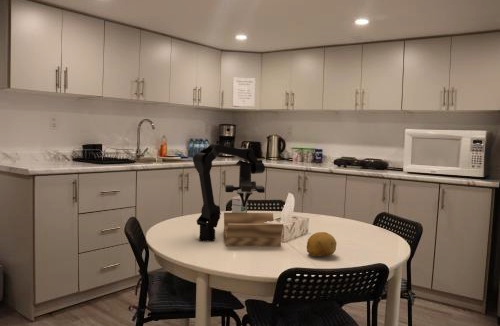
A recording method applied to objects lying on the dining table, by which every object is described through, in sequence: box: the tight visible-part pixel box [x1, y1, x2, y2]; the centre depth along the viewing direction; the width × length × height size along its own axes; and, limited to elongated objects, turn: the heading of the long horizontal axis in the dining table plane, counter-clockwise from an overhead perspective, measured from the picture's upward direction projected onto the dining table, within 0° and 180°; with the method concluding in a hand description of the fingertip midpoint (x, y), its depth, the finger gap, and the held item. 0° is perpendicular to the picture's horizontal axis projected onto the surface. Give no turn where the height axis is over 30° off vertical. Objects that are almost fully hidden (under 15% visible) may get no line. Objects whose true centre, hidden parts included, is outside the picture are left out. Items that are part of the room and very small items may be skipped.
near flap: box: [227, 223, 284, 239], centre depth 184 cm, size 8×24×1 cm
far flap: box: [223, 212, 275, 230], centre depth 204 cm, size 8×24×1 cm
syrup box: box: [231, 195, 248, 213], centre depth 226 cm, size 6×6×14 cm
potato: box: [306, 231, 338, 257], centre depth 176 cm, size 10×12×10 cm
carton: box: [223, 228, 282, 247], centre depth 194 cm, size 24×15×4 cm, turn 98°
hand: (244, 206), depth 208 cm, fingers closed
